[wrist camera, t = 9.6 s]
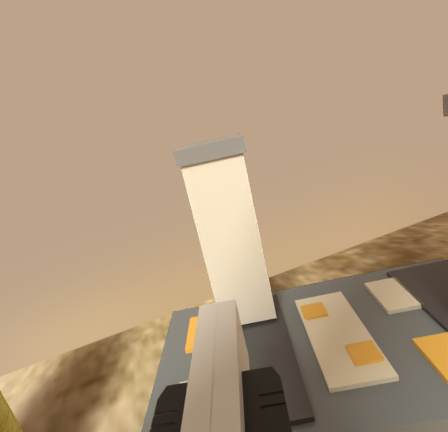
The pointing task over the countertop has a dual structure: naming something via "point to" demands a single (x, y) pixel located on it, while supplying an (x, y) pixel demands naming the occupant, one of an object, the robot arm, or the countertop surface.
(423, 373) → the console
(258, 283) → the slider
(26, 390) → the countertop surface
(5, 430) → the sauce bottle
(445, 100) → the slider
